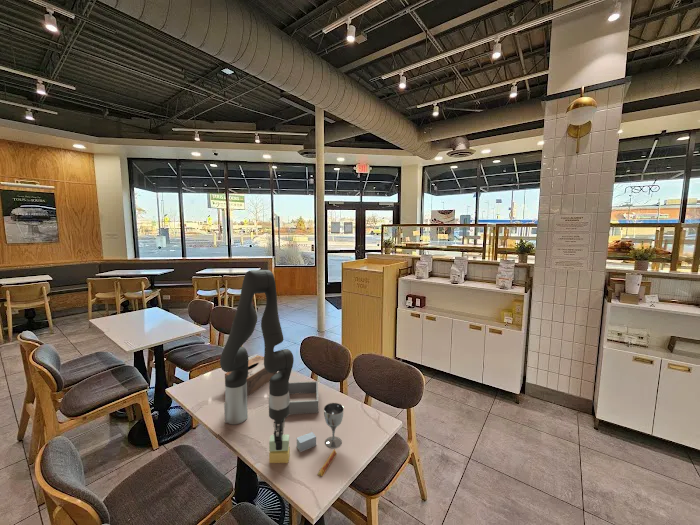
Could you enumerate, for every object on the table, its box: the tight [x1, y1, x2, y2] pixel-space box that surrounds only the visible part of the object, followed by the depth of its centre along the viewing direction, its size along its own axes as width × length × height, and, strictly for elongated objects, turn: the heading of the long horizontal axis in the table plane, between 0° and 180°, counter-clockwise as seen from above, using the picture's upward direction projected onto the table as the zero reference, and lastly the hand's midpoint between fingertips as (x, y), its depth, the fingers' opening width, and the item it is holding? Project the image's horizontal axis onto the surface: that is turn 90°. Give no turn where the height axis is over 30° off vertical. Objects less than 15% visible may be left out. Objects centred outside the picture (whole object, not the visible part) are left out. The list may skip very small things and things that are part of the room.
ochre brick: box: [268, 446, 291, 464], centre depth 115 cm, size 7×4×4 cm, turn 91°
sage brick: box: [268, 434, 290, 453], centre depth 114 cm, size 7×4×4 cm, turn 97°
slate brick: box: [296, 431, 317, 453], centre depth 122 cm, size 7×4×4 cm, turn 123°
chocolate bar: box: [317, 448, 337, 477], centre depth 113 cm, size 3×12×2 cm, turn 157°
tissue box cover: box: [224, 355, 278, 398], centre depth 170 cm, size 26×14×10 cm, turn 157°
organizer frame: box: [289, 380, 319, 415], centre depth 152 cm, size 19×19×6 cm
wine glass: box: [323, 402, 345, 450], centre depth 124 cm, size 8×8×15 cm
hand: (279, 445), depth 114 cm, fingers closed on sage brick, 3 cm apart
